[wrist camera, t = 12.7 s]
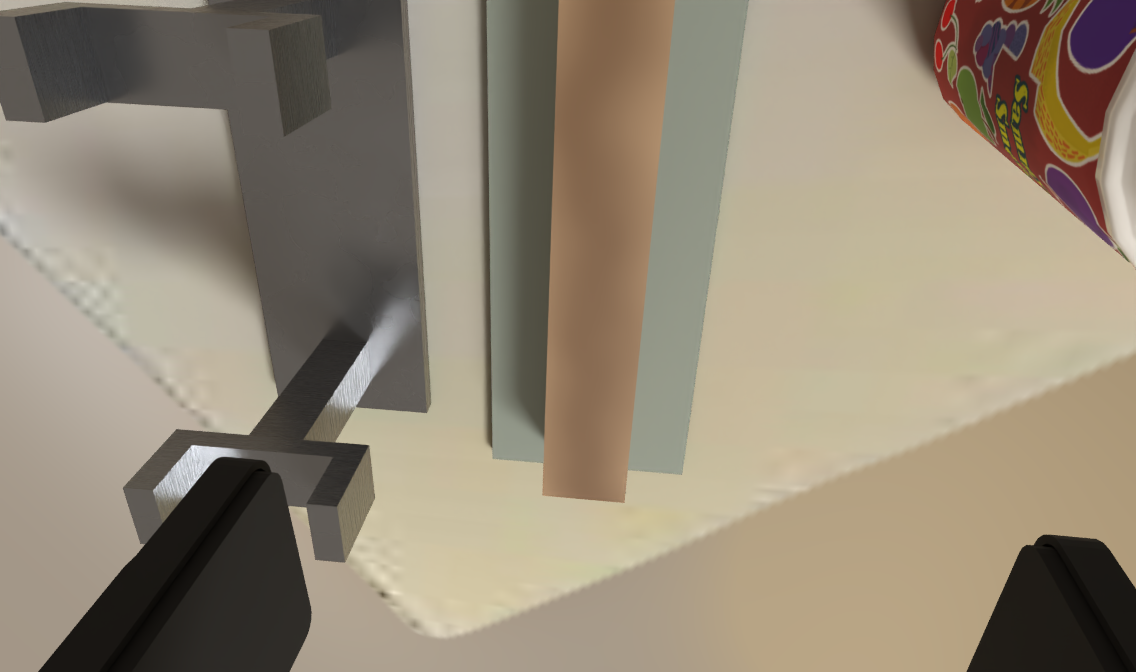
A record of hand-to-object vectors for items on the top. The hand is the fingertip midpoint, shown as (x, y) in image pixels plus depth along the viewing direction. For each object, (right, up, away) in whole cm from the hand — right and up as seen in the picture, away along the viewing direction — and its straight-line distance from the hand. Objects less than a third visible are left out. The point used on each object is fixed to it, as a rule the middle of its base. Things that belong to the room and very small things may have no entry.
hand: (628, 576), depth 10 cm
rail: (+1, +7, +20) cm, 21 cm away
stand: (-10, +9, +21) cm, 25 cm away
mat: (+1, +8, +21) cm, 22 cm away
